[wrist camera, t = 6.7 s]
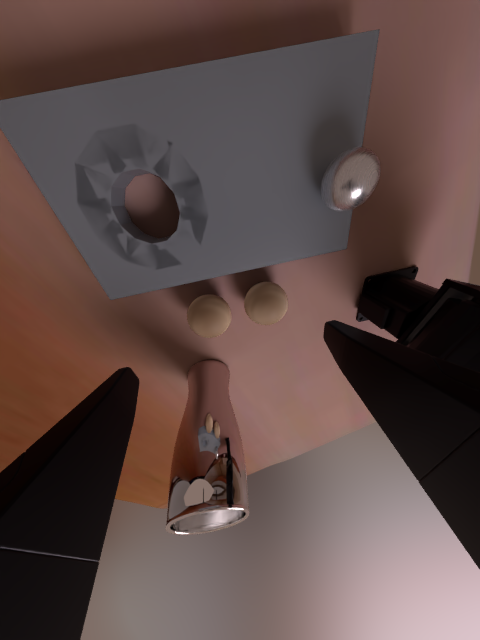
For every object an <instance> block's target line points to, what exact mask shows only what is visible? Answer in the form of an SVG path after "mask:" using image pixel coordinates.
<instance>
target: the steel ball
mask: <svg viewBox="0 0 480 640" xmlns="http://www.w3.org/2000/svg"><path fill="white" fill-rule="evenodd" d="M380 171H381V168H380V162H379V159H378V157H377V155H376V154H375V153H374V152H373V151H372V150H370V149H368V148H365V147H355V148H351V149H348V150H346V151H344V152H342V153H341V154H339V155H338V156H337V157H336V158H335V159H334V160H333V161H332V162H331V163H330V165H329V166H328V167H327V169H326V171H325V173H324V175H323V178H322V182H321V196H322V199H323V201H324V203H325V204H326V206H328V207H329V208H330V209H332V210H335V211H348V210H352V209H354V208H356V207H358V206H360V205H361V204H362V203H364V202H365V201H366V200H367V199H368V198H369V197H370V195H371V194H372V193H373V191H374V190H375V188H376V186H377V184H378V181H379V178H380Z"/></svg>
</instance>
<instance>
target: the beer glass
mask: <svg viewBox="0 0 480 640" xmlns="http://www.w3.org/2000/svg"><path fill="white" fill-rule="evenodd" d="M229 379H230V372H229V369H228V367H227V366H226V365H225V364H224V363H222V362H220V361H216V360H204V361H200V362H198V363H196V364H194V365H193V366H192V367H191V368H190V369H189V371H188V375H187V380H188V390H189V392H188V400H187V404H186V408H185V411H184V414H183V418H182V421H181V424H180V428H179V431H178V435H177V439H176V443H175V447H174V453H173V459H172V465H171V474H170V483H169V496H168V511H167V523H166V531H167V532H169V533H171V534H176V535H192V534H201V533H207V532H213V531H217V530H221V529H224V528H227V527H230V526H233V525H236V524H238V523H240V522H242V521H244V520H245V519H246V518H247V517H248V516H249V514H250V513H249V505H248V492H247V478H246V466H245V457H244V450H243V444H242V439H241V435H240V431H239V427H238V423H237V420H236V417H235V414H234V410H233V407H232V404H231V400H230V396H229Z"/></svg>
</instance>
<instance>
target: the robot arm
mask: <svg viewBox="0 0 480 640" xmlns="http://www.w3.org/2000/svg"><path fill="white" fill-rule="evenodd" d="M413 270H414V271H413ZM412 271H413V272H412ZM417 272H418V267H415V266H413V267H409V268H404V269H400V270H395V271H390V272H386V273H381V274H377V275H372V276H369V277H367V278H366V279H365V281H364V286H363V290H362V294H361V297H360V302H359V306H358V313H357V317H356V320H357V321H359V322H361V321H365V320H370V321H371V322H372V323H374V324H375V325H376V326H378V327H379V328H380V329H385V330H386V331H388V332H389V333H390V334H392V335H393V336H394V337H396V338H397V339H398V340H397V341H396V342H393V341H391V340H388V339H385V338H382V337H380V336H377V335H374V334H372V333H369V332H366V331H363V330H361V329H358V328H355V327H352V326H350V325H347V324H344V323H342V322H339V321H336V320H332V321H328V322H326V323H325V326H324V341H325V342H326V344H327V346H328V348H329V350H330V352H331V353H332V355H333V357H334V359H335V361H336V363H337V364H338V366H339V368H340V369H341V371H342V373H343V374H344V375H345V377H346V378H347V380H348V381H349V383H350V384H351V385H352V387H353V388H354V390H355V391H356V393H357V394H358V395H359V397H360V398H361V400H362V401H363V403H364V404H365V406H366V407H367V408H368V410H369V411H370V413H371V414H372V416H373V417H374V418H375V420H376V421H377V423H378V424H379V426H380V427H381V428H382V430H383V431H384V433H385V434H386V435H387V437H388V438H389V440H390V441H391V443H392V444H393V445H394V447H395V449H396V450H397V451H398V453H399V454H400V456H401V457H402V459H403V460H404V461H405V463H406V464H407V466H408V467H409V468H410V470H411V471H412V473H413V474H414V476H415V477H416V479H417V480H418V481H419V483H420V485H421V486H422V488H423V489H424V490H425V492H426V493H427V495H428V496H429V497H430V499H431V500H432V501H433V503H434V505H435V506H436V507H437V509H438V510H439V512H440V513H441V515H442V516H443V518H444V519H445V520H446V522H447V523H448V525H449V526H450V528H451V529H452V530H453V532H454V533H455V535H456V536H457V538H458V539H459V541H460V542H461V543H462V545H463V546H464V548H465V549H466V551H467V552H468V553H469V554H470V556H471V558H472V559H473V561H474V562H475V563H476V565H477V566H478V568H479V569H480V286H479V285H474V284H470V283H465V282H460V281H456V280H451V279H446V280H445V281H444V282H443V283H442V284H443V285H442V286H441V287H440V289H437V288H434V287H431V286H429V285H426V284H424V283H421V282H418V281H416V280H415V277H416V274H417ZM370 279H371V280H370ZM369 280H370V281H369ZM368 281H369V282H368ZM138 389H139V379H138V377H137V376H136V375H135V373H134V372H133V371H132V369H131V368H129V367H125V368H121V369H118V370H117V371H116V372H115V373H114V374H112V375H111V376H110V377H109V378H108V379H107V380H106V381H105V382H103V383H102V384H101V385H100V386H99V387H98V388H97V389H95V390H94V391H93V392H92V393H91V394H90V395H89V396H87V397H86V398H85V399H84V400H83V401H82V402H81V403H79V404H78V405H77V406H76V407H75V408H74V409H73V410H71V411H70V412H69V413H68V414H67V415H66V416H65V417H63V418H62V419H61V420H60V421H59V422H58V423H57V424H55V425H54V426H53V427H52V428H51V429H50V430H49V431H48V432H46V433H45V434H44V435H43V436H42V437H41V438H40V439H38V440H37V441H36V442H35V443H34V444H33V445H32V446H30V447H29V448H28V449H27V450H26V452H24V453H22V454H21V455H20V456H19V457H18V458H17V459H16V460H14V461H13V462H12V463H11V464H10V465H9V466H8V467H6V468H5V469H4V470H3V471H2V472H1V473H0V640H80V638H81V634H82V630H83V625H84V622H85V617H86V614H87V610H88V605H89V601H90V597H91V593H92V589H93V585H94V581H95V577H96V573H97V569H98V565H99V562H98V561H99V560H100V556H101V552H102V548H103V544H104V540H105V536H106V532H107V528H108V523H109V519H110V515H111V511H112V507H113V503H114V499H115V495H116V491H117V487H118V483H119V479H120V475H121V471H122V467H123V462H124V458H125V454H126V450H127V446H128V442H129V438H130V434H131V430H132V426H133V422H134V417H135V411H136V404H137V397H138Z"/></svg>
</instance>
